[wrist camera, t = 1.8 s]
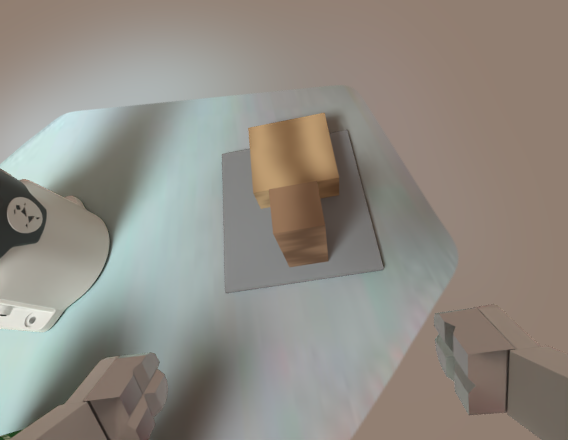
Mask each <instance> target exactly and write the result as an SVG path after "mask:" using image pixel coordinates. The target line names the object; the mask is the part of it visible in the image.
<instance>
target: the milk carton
mask: <svg viewBox="0 0 568 440" xmlns="http://www.w3.org/2000/svg"><path fill="white" fill-rule="evenodd" d="M23 430H24V429H23ZM21 431H22V430H20V431H16V432H13V433H9V434H6V435H2V436H0V440H9V439H11V438H12V437H14V436H15V435H16V434H18V433H19V432H21Z"/></svg>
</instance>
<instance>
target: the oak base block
mask: <svg viewBox="0 0 568 440" xmlns="http://www.w3.org/2000/svg"><path fill="white" fill-rule="evenodd" d="M248 129H249V143H250V156H251V170H252V184H253V194H254V196H255V198H256V200H257V202H258V204H259V206H260V208H261V209H263V208H268V207H270V198H269V189H273V188H279V187H285V186H290V185H296V184H301V183H307V182H312V181H317V184H318V189H319V194H320V198H326V197H332V196H337V195H339V174H338V170H337V166H336V161H335V157H334V152H333V148H332V144H331V139H330V135H329V130H328V126H327V122H326V117H325V113H321V114H316V115H311V116H306V117H301V118H296V119H291V120H286V121H281V122H276V123H271V124H266V125H261V126H256V127H251V128H248Z"/></svg>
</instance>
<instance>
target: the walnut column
mask: <svg viewBox="0 0 568 440" xmlns="http://www.w3.org/2000/svg"><path fill="white" fill-rule="evenodd" d="M269 198H270V208H271V218H272V228H273V235H274V237H275V239H276V241H277V243H278V245H279V247H280V249H281V251H282V253H283V255H284V257H285V259H286V261H287V263H288V265H289V267H295V266H302V265H308V264H315V263H321V262H328V250H327V239H326V228H325V221H324V216H323V211H322V205H321V200H320V194H319V189H318V184H317V181H312V182H307V183H301V184H296V185H290V186H285V187H279V188H273V189H269Z"/></svg>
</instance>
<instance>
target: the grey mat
mask: <svg viewBox="0 0 568 440" xmlns="http://www.w3.org/2000/svg"><path fill="white" fill-rule="evenodd" d="M329 135H330V139H331V144H332V148H333V152H334V157H335V161H336V166H337V170H338V174H339V195H337V196H332V197H326V198H320V200H321V205H322V211H323V216H324V221H325V228H326V239H327V250H328V262H321V263H315V264H308V265H302V266H295V267H289V265H288V263H287V261H286V259H285V257H284V255H283V253H282V251H281V249H280V247H279V245H278V243H277V241H276V239H275V237H274V235H273V228H272V218H271V208H270V207H268V208H263V209H261V208H260V206H259V204H258V202H257V200H256V198H255V196H254V194H253V184H252V170H251V156H250V149H246V150H240V151H235V152H230V153H225V154H222V179H223V226H224V273H225V293H232V292H239V291H246V290H252V289H259V288H266V287H273V286H279V285H286V284H293V283H300V282H306V281H313V280H320V279H326V278H333V277H340V276H347V275H353V274H360V273H367V272H373V271H380V270H383V269H384V268H383V264H382V260H381V256H380V252H379V249H378V245H377V241H376V237H375V233H374V230H373V226H372V222H371V218H370V214H369V211H368V207H367V203H366V199H365V195H364V192H363V188H362V184H361V180H360V177H359V173H358V169H357V165H356V161H355V158H354V154H353V150H352V146H351V142H350V139H349V135H348V131H347V130H344V131H338V132H333V133H329Z"/></svg>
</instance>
